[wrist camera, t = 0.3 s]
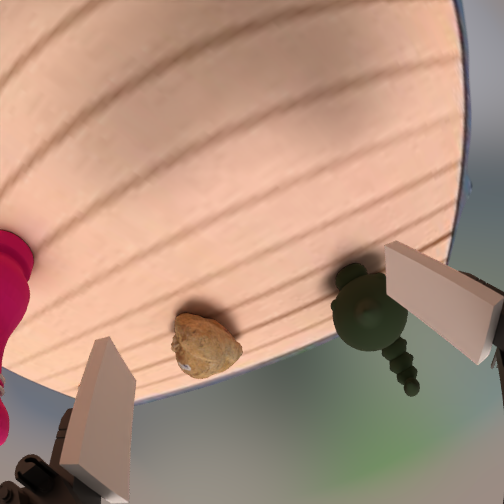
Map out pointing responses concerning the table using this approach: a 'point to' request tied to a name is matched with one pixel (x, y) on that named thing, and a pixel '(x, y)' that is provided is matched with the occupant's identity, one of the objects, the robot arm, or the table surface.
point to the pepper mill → (12, 300)
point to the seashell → (203, 346)
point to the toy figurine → (373, 321)
